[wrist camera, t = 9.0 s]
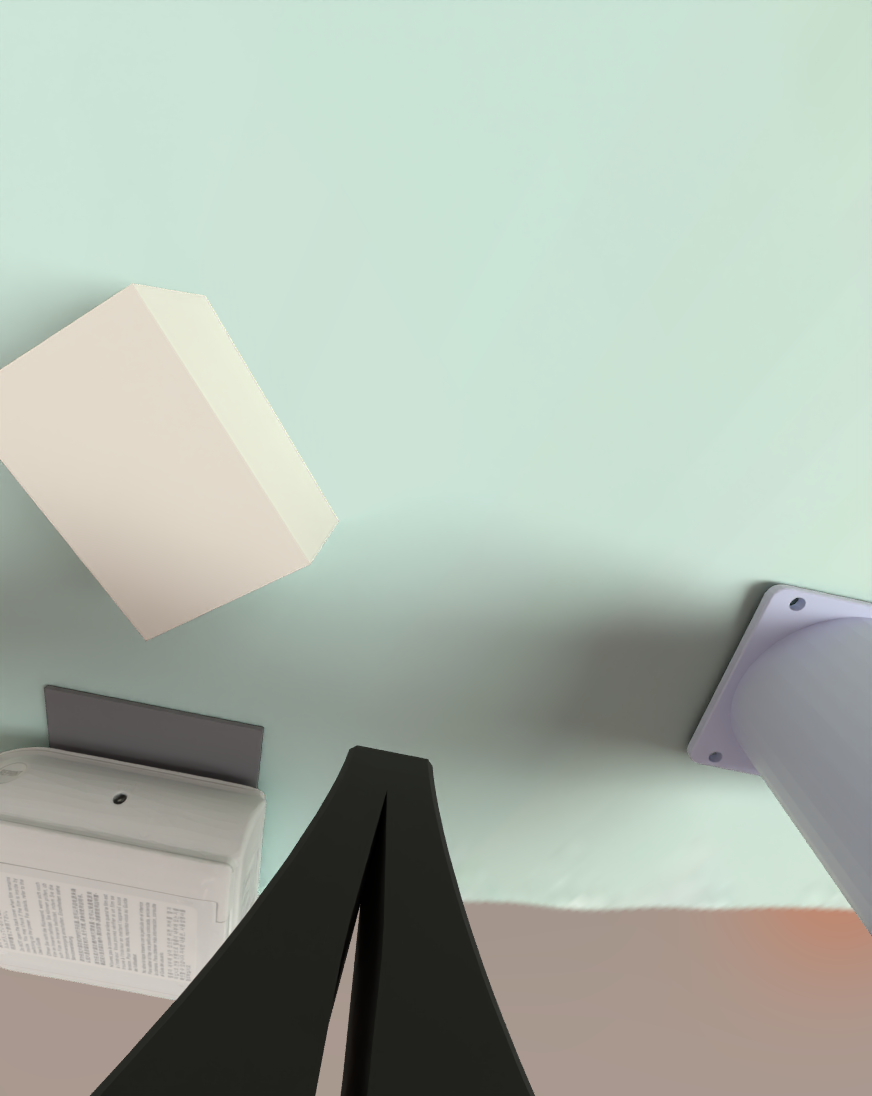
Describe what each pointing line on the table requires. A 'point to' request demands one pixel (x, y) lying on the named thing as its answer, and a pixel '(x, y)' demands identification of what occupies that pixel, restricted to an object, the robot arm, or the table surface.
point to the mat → (153, 736)
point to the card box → (160, 458)
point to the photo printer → (121, 869)
